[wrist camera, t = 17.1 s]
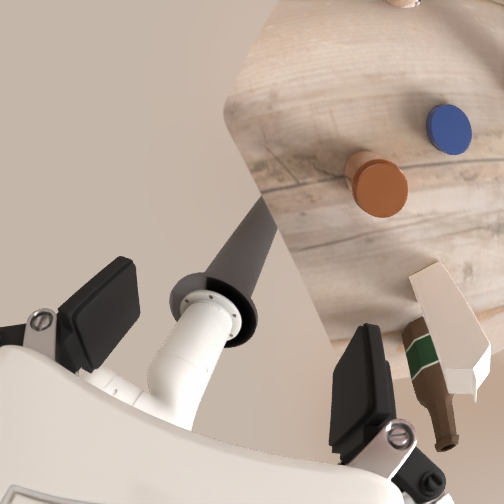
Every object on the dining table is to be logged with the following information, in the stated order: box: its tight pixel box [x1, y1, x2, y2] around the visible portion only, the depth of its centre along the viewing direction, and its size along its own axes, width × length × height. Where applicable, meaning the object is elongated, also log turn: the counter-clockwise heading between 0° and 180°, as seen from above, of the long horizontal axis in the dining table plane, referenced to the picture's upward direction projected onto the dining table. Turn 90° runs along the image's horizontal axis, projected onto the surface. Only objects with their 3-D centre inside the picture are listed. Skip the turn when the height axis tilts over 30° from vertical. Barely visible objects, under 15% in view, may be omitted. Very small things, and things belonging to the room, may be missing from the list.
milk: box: [409, 261, 490, 403], centre depth 27 cm, size 6×6×22 cm
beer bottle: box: [402, 317, 459, 452], centre depth 31 cm, size 8×8×24 cm
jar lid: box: [427, 105, 472, 155], centre depth 26 cm, size 7×7×2 cm
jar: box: [344, 151, 408, 218], centre depth 28 cm, size 6×6×10 cm
